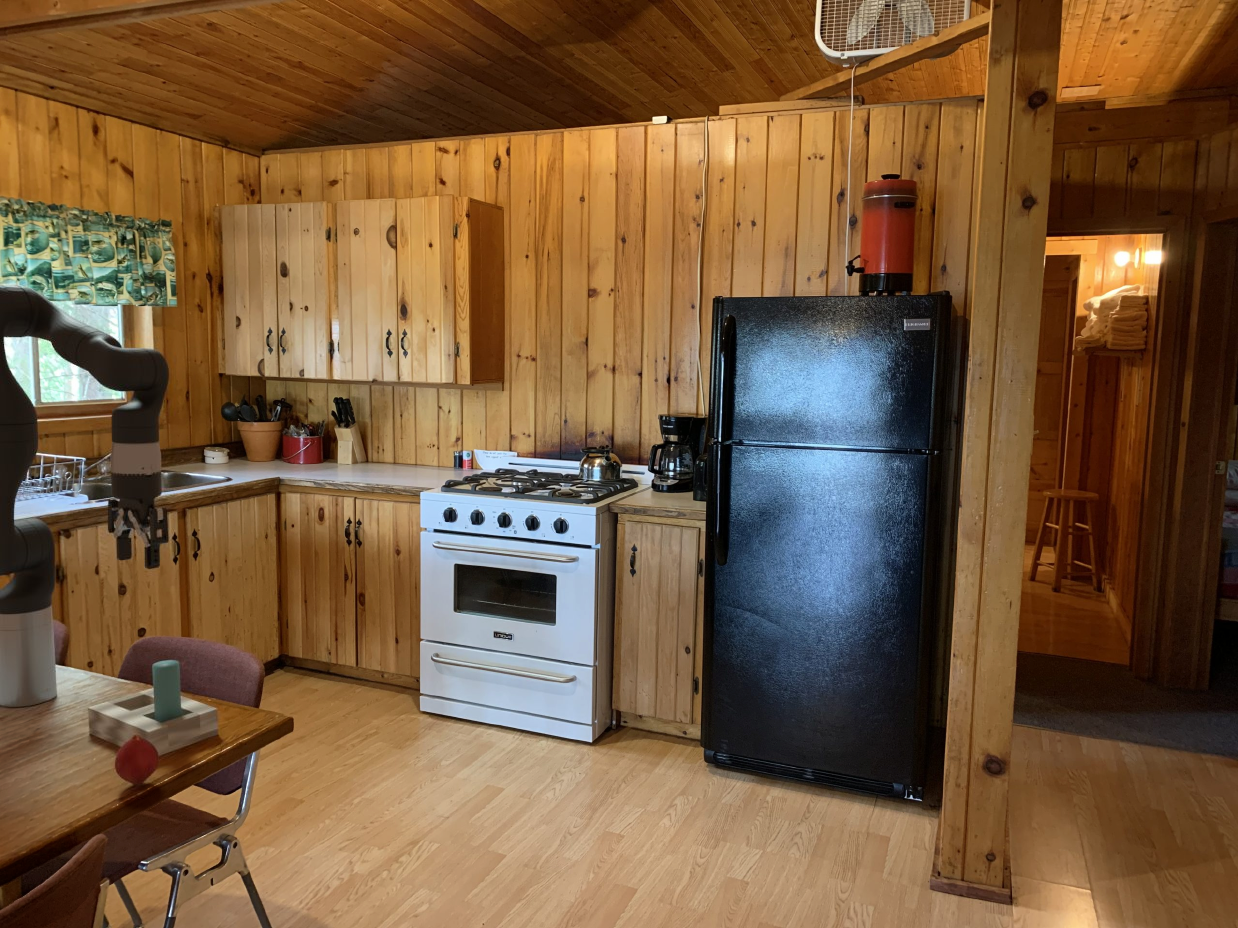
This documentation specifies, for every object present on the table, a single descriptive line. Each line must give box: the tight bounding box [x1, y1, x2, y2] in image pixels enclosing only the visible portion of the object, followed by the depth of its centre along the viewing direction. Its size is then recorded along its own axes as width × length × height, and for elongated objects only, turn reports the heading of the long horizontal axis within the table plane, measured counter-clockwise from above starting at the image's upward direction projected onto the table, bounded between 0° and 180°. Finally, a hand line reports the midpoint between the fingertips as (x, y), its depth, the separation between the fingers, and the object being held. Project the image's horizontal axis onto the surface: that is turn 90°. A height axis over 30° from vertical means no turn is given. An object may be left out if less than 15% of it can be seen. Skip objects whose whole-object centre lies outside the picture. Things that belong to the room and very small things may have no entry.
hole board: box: [87, 687, 219, 757], centre depth 159 cm, size 18×12×4 cm, turn 57°
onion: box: [114, 734, 160, 787], centre depth 140 cm, size 6×6×8 cm
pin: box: [151, 659, 182, 723], centre depth 156 cm, size 4×4×12 cm
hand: (138, 563), depth 160 cm, fingers open, 8 cm apart
